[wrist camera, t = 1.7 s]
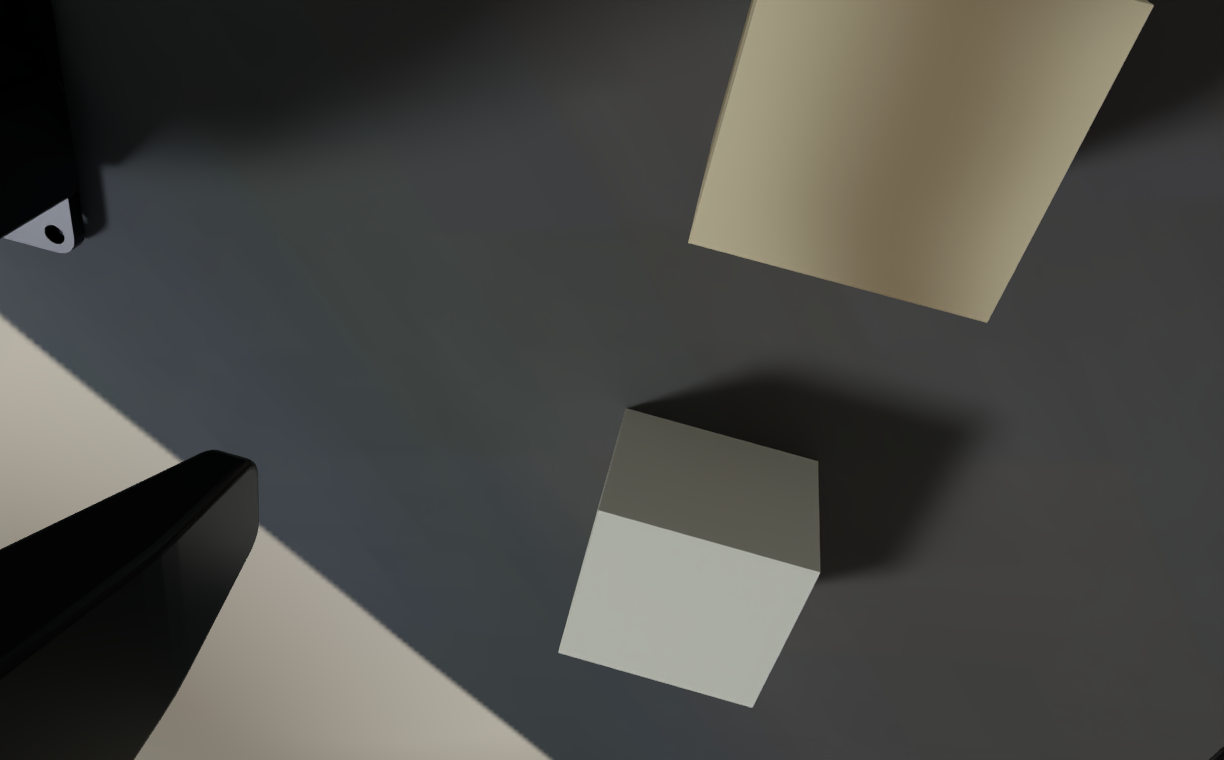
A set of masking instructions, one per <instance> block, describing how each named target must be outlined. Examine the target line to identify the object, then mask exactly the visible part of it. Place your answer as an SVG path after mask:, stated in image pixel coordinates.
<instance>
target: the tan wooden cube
mask: <svg viewBox="0 0 1224 760" xmlns="http://www.w3.org/2000/svg"><path fill="white" fill-rule="evenodd" d="M1153 6H1154V5H1153V4H1152V3H1150V2H1149V1H1147V0H752V1H751V5H750V8H749V12H748V15H747V19H746V22H745V26H744V29H743V33H742V37H741V40H740V44H739V47H738V51H737V54H736V58H735V62H734V65H733V69H732V72H731V76H730V79H729V83H728V87H727V90H726V94H725V97H724V101H723V104H722V108H721V112H720V115H719V119H718V122H717V126H716V129H715V133H714V137H713V140H712V144H711V148H710V153H709V157H708V161H707V165H706V170H705V174H704V178H703V182H702V186H701V191H700V195H699V199H698V203H697V208H696V212H695V216H694V220H693V225H692V229H691V233H690V237H689V241H688V243H691V244H695V245H698V246H702V247H706V248H710V249H713V250H717V251H721V252H725V253H728V254H732V255H736V256H740V257H743V258H747V259H751V260H755V261H758V262H762V263H766V264H770V265H773V266H777V267H781V268H784V269H788V270H792V271H796V272H799V273H803V274H807V275H811V276H814V277H818V278H822V279H826V280H829V281H833V282H837V283H841V284H844V285H848V286H852V287H856V288H859V289H863V290H867V291H871V292H874V293H878V294H882V295H885V296H889V297H893V298H897V299H900V300H904V301H908V302H912V303H915V304H919V305H923V306H927V307H930V308H934V309H938V310H942V311H945V312H949V313H953V314H957V315H960V316H964V317H968V318H972V319H975V320H979V321H983V322H986V323H987V322H988V320H989V318H990V316H991V314H992V312H993V311H994V309H995V307H996V305H997V303H998V301H999V299H1000V297H1001V295H1002V293H1003V292H1004V290H1005V288H1006V286H1007V284H1008V282H1009V280H1010V278H1011V276H1012V274H1013V273H1014V271H1015V269H1016V267H1017V265H1018V263H1019V261H1020V259H1021V257H1022V255H1023V254H1024V252H1025V250H1026V248H1027V246H1028V244H1029V242H1030V240H1031V238H1032V236H1033V235H1034V233H1035V231H1036V229H1037V227H1038V225H1039V223H1040V221H1041V219H1042V217H1043V216H1044V214H1045V212H1046V210H1047V208H1048V206H1049V204H1050V202H1051V200H1052V198H1053V197H1054V195H1055V193H1056V191H1057V189H1058V187H1059V185H1060V183H1061V181H1062V179H1063V178H1064V176H1065V174H1066V172H1067V170H1068V168H1069V166H1070V164H1071V162H1072V160H1073V159H1074V157H1075V155H1076V153H1077V151H1078V149H1079V147H1080V145H1081V143H1082V141H1083V140H1084V138H1085V136H1086V134H1087V132H1088V130H1089V128H1090V126H1091V124H1092V122H1093V121H1094V119H1095V117H1096V115H1097V113H1098V111H1099V109H1100V107H1101V105H1102V103H1103V101H1104V100H1105V98H1106V96H1107V94H1108V92H1109V90H1110V88H1111V86H1112V84H1113V82H1114V81H1115V79H1116V77H1117V75H1118V73H1119V71H1120V69H1121V67H1122V65H1123V63H1124V62H1125V60H1126V58H1127V56H1128V54H1129V52H1130V50H1131V48H1132V46H1133V44H1134V43H1135V41H1136V39H1137V37H1138V35H1139V33H1140V31H1141V29H1142V27H1143V25H1144V24H1145V22H1146V20H1147V18H1148V16H1149V14H1150V12H1151V10H1152V8H1153Z"/></svg>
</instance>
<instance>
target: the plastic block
mask: <svg viewBox="0 0 1224 760" xmlns="http://www.w3.org/2000/svg"><path fill="white" fill-rule="evenodd" d="M819 574H820V529H819V482H818V461H815V460H812V459H808V458H805V457H801V456H797V455H794V454H790V453H786V452H783V451H779V450H776V449H772V448H768V447H765V446H761V445H758V444H754V443H750V442H747V441H743V440H739V439H736V438H732V437H729V436H725V435H721V434H718V433H714V432H710V431H707V430H703V429H700V428H696V427H692V426H689V425H685V424H681V423H678V422H674V421H671V420H667V419H663V418H660V417H656V416H653V415H649V414H645V413H642V412H638V411H634V410H631V409H627V408H626V410H625V413H624V417H623V421H622V424H621V428H620V431H619V435H618V438H617V442H616V446H615V449H614V453H613V456H612V460H611V463H610V467H609V471H608V474H607V478H606V481H605V485H604V488H603V492H602V496H601V499H600V503H599V506H598V510H597V513H596V517H595V521H594V524H593V528H592V531H591V535H590V538H589V542H588V546H587V549H586V553H585V557H584V560H583V564H582V568H581V571H580V575H579V578H578V582H577V586H576V589H575V593H574V597H573V600H572V604H571V608H570V611H569V615H568V619H567V622H566V626H565V630H564V633H563V637H562V641H561V644H560V648H559V651H558V653H561V654H565V655H568V656H572V657H575V658H579V659H582V660H586V661H589V662H593V663H597V664H600V665H604V666H607V667H611V668H614V669H618V670H621V671H625V672H628V673H632V674H635V675H639V676H642V677H646V678H649V679H653V680H656V681H660V682H663V683H667V684H671V685H674V686H678V687H681V688H685V689H688V690H692V691H695V692H699V693H702V694H706V695H709V696H713V697H716V698H720V699H723V700H727V701H730V702H734V703H737V704H741V705H744V706H748V707H753V705H754V703H755V701H756V699H757V697H758V695H759V693H760V691H761V689H762V687H763V685H764V683H765V681H766V679H767V677H768V675H769V674H770V672H771V670H772V668H773V666H774V664H775V662H776V660H777V658H778V656H779V654H780V652H781V650H782V648H783V646H784V644H785V642H786V640H787V638H788V636H789V634H790V632H791V630H792V628H793V626H794V624H795V622H796V620H797V618H798V616H799V614H800V612H801V610H802V608H803V606H804V604H805V602H806V600H807V598H808V596H809V594H810V592H811V590H812V588H813V586H814V584H815V582H816V580H817V578H818V576H819Z"/></svg>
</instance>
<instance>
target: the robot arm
mask: <svg viewBox="0 0 1224 760" xmlns="http://www.w3.org/2000/svg"><path fill="white" fill-rule="evenodd" d="M26 1H27V4H28V8H26V7H25V6H24V5H23V4H22V3H21V2H20V0H0V239H1V238H6V239H10V240H13V241H17V242H21V243H24V244H28V245H32V246H35V247H39V248H43V249H46V250H50V251H54V252H57V253H67V252H69V251H71V250H73V249H74V248H76V247H77V246H79V245H80V244H81V243H82V242H83V240H84V234H85V232H84V225H83V218H82V211H81V204H80V197H79V190H78V188H79V186H78V178H77V171H76V164H75V157H74V150H73V143H72V136H71V129H70V122H69V115H68V108H67V101H66V94H65V91H64V85H63V78H62V71H61V64H60V57H59V51H58V44H57V37H56V30H55V23H54V16H53V9H52V3H51V0H26ZM56 227H58V228H59V229H60V230H61V231H62V232H63V234H64V235H62V234H61V233H60V232H59V231H58V230H57V228H56ZM258 526H259V503H258V471H257V467H256V465H255V463H254V462H253V461H251V460H250V459H247V458H244V457H240V456H237V455H233V454H230V453H226V452H223V451H219V450H209V451H205V452H202V453H200V454H198V455H196V456H194V457H192V458H189V459H187V460H185V461H183V462H181V463H179V464H177V465H175V466H173V467H171V468H169V469H167V470H164V471H162V472H160V473H158V474H156V475H154V476H152V477H150V478H148V479H146V480H144V481H142V482H140V483H137V484H136V485H133V486H131V487H129V488H127V489H125V490H123V491H121V492H119V493H117V494H115V495H112V496H111V497H108V498H106V499H104V500H102V501H100V502H98V503H96V504H94V505H92V506H90V507H88V508H86V509H83V510H81V511H79V512H77V513H75V514H73V515H71V516H69V517H67V518H65V519H63V520H60V521H58V522H57V523H54V524H52V525H50V526H48V527H46V528H44V529H42V530H40V531H38V532H36V533H33V534H31V535H29V536H27V537H25V538H23V539H21V540H19V541H17V542H15V543H13V544H11V545H9V546H7V547H4V548H2V549H1V550H0V760H134V759H135V757H136V756H137V754H138V753H139V751H140V750H141V748H142V747H143V745H144V744H145V742H146V741H147V739H148V738H149V736H150V735H151V733H152V732H153V730H154V729H155V727H156V726H157V724H158V723H159V721H160V720H161V718H162V716H163V715H164V713H165V711H166V710H167V708H168V707H169V705H170V704H171V702H172V700H173V699H174V697H175V696H176V694H177V692H178V690H179V688H180V687H181V685H182V683H183V681H184V679H185V677H186V676H187V674H188V672H189V670H190V668H191V666H192V664H193V662H194V660H195V658H196V656H197V654H198V653H199V651H200V649H201V646H202V645H203V643H204V641H205V639H206V636H207V635H208V633H209V631H210V629H211V627H212V625H213V623H214V621H215V619H216V617H217V615H218V613H219V612H220V610H221V608H222V606H223V604H224V602H225V600H226V598H227V596H228V594H229V592H230V590H231V588H232V586H233V584H234V582H235V580H236V578H237V577H238V575H239V573H240V571H241V569H242V567H243V565H244V563H245V561H246V559H247V557H248V555H249V553H250V551H251V549H252V547H253V544H254V542H255V539H256V536H257V532H258ZM1209 760H1224V747H1223V748H1221V749H1220V750H1219V751H1218V752H1217V753H1216V754H1215V755H1214V756H1212V757H1211V758H1210V759H1209Z"/></svg>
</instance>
